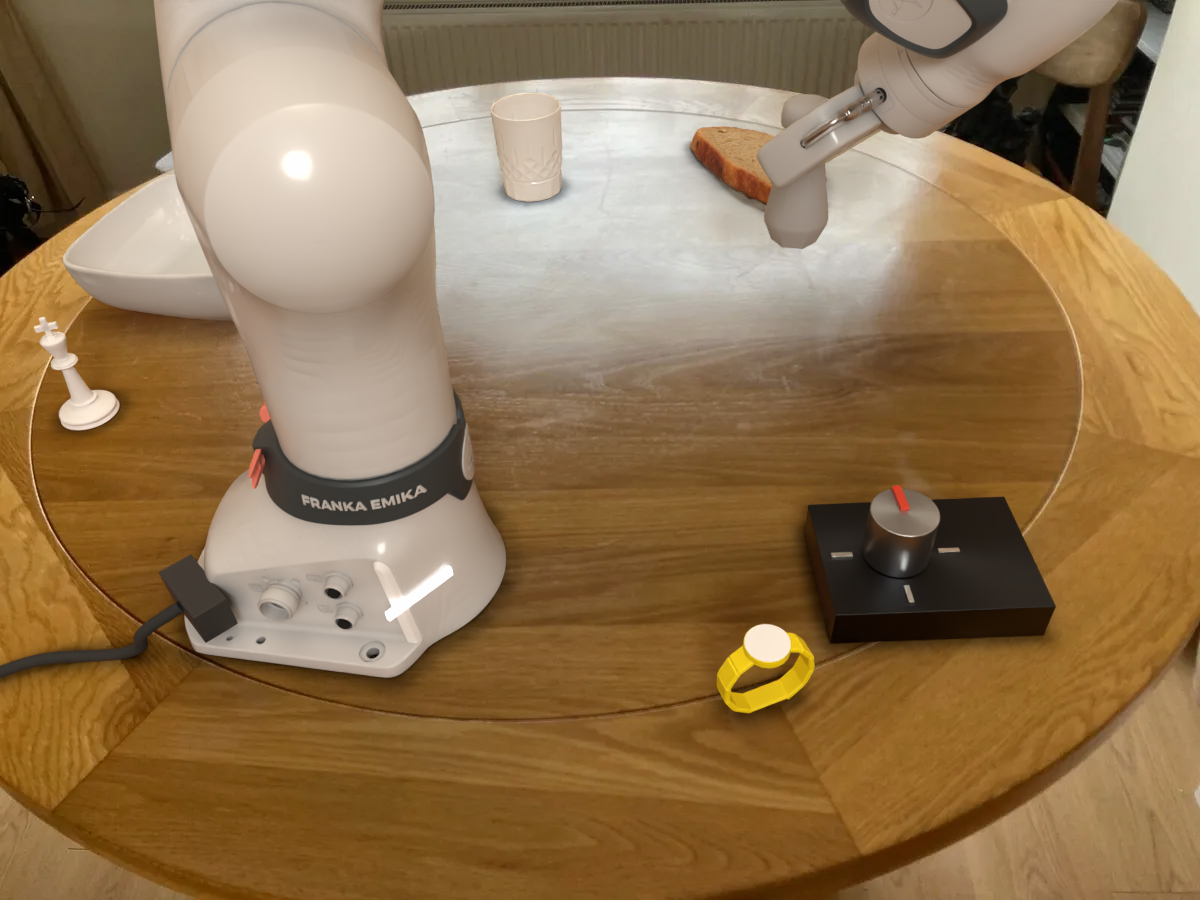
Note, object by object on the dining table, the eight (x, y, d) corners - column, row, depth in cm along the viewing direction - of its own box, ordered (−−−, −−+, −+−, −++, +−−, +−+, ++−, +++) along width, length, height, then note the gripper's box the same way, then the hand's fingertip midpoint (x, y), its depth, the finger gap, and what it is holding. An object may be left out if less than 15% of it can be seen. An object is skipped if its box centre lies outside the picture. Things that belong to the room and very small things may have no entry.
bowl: (68, 328, 95) (34, 261, 90) (181, 227, 110) (157, 164, 105) (252, 350, 91) (228, 280, 86) (345, 242, 106) (328, 177, 101)
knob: (937, 575, 63) (950, 530, 60) (871, 580, 63) (881, 535, 60) (917, 527, 66) (928, 482, 64) (854, 531, 66) (863, 487, 64)
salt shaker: (824, 256, 86) (842, 115, 78) (760, 251, 87) (771, 112, 79) (826, 225, 91) (844, 87, 82) (764, 221, 92) (776, 85, 83)
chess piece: (61, 403, 86) (11, 310, 80) (119, 389, 87) (74, 296, 81) (59, 436, 83) (7, 341, 76) (119, 421, 84) (73, 327, 77)
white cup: (486, 189, 114) (476, 107, 107) (538, 168, 118) (530, 86, 111) (528, 211, 109) (520, 126, 103) (580, 188, 113) (575, 104, 106)
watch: (795, 667, 62) (804, 609, 58) (816, 702, 60) (827, 644, 56) (709, 695, 61) (713, 637, 57) (728, 732, 59) (733, 674, 55)
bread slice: (696, 136, 122) (697, 107, 120) (839, 149, 118) (843, 120, 115) (658, 201, 110) (658, 170, 107) (817, 219, 105) (820, 187, 103)
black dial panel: (830, 644, 63) (835, 613, 61) (803, 533, 71) (807, 502, 69) (1043, 635, 63) (1057, 605, 61) (994, 525, 70) (1004, 494, 68)
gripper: (860, 156, 68) (741, 236, 79) (999, 72, 78) (876, 153, 90) (815, 78, 67) (701, 170, 79) (961, 4, 78) (842, 95, 89)
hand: (796, 160), depth 85 cm, fingers closed on salt shaker, 3 cm apart
